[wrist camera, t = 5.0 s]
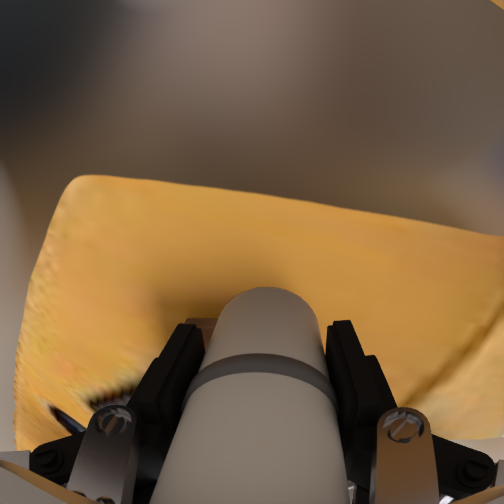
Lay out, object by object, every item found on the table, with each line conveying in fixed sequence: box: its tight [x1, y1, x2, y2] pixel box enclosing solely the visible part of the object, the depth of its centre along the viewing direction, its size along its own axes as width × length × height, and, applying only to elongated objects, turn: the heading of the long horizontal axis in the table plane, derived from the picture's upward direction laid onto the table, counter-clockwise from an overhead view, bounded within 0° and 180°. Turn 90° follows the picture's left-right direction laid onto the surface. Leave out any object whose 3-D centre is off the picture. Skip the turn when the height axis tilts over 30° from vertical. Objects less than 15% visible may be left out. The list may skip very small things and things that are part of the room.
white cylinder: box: [149, 287, 350, 504], centre depth 6 cm, size 4×4×10 cm
